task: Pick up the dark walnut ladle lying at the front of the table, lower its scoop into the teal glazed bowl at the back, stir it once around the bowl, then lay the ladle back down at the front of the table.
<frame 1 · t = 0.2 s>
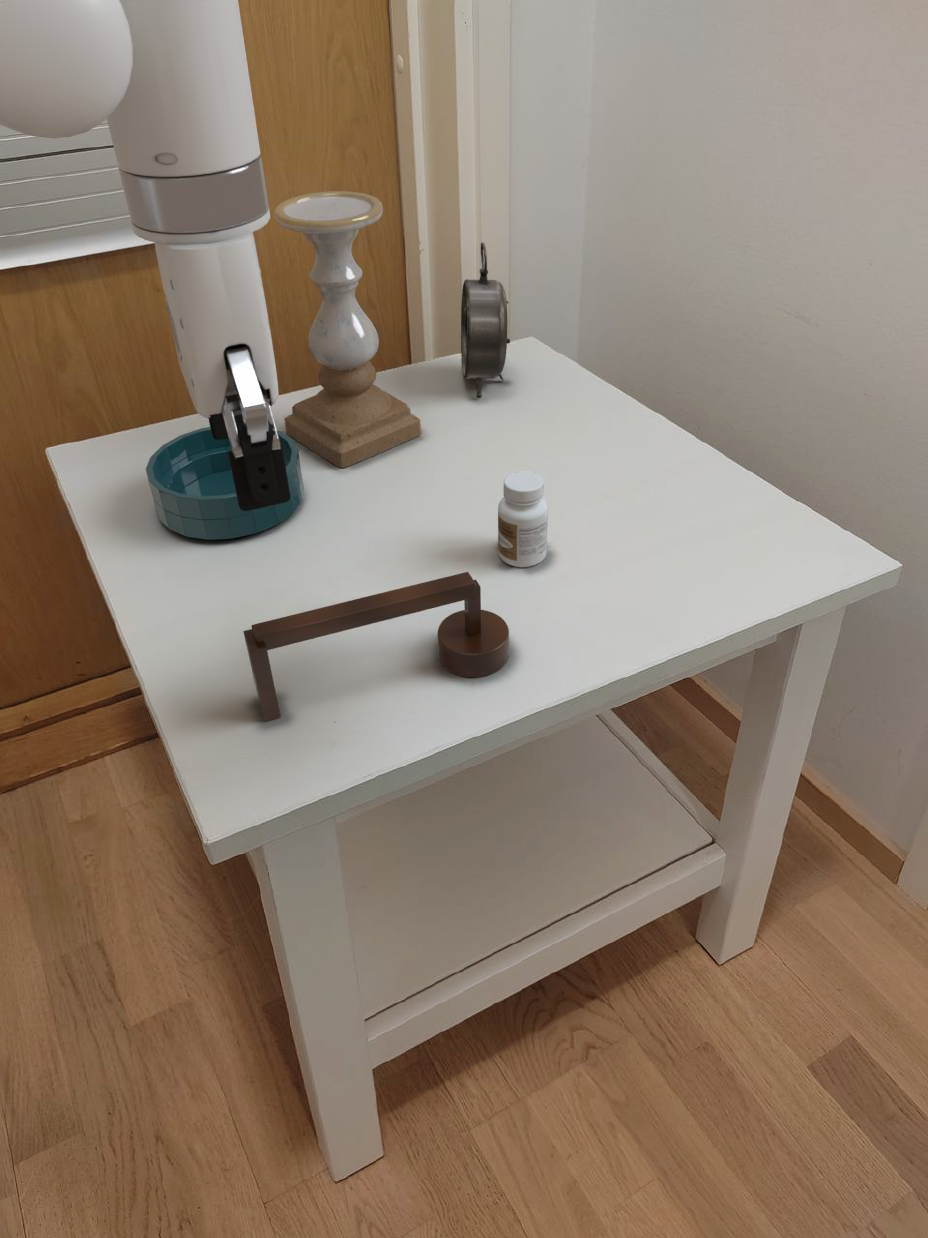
hand: (249, 467, 63), 19 cm above the table, tool pointing down, fingers open, 9 cm apart
pill bottle: (522, 556, 87), on the table
alarm clock: (485, 383, 114), on the table
candle holder: (353, 435, 105), on the table
ladle: (353, 686, 74), on the table
bowl: (232, 503, 94), on the table
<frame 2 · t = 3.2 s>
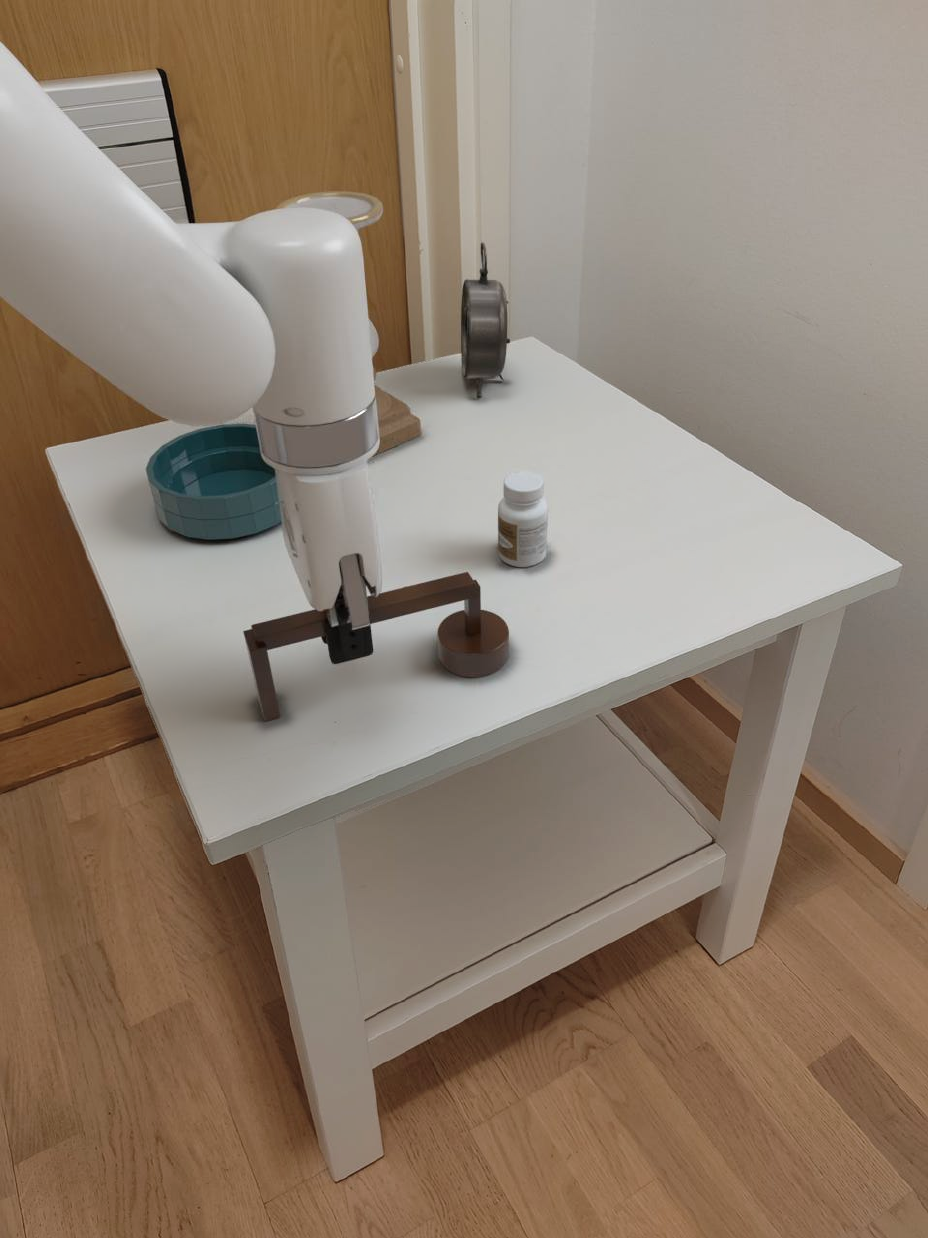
hand: (347, 646, 71), 4 cm above the table, tool pointing down, fingers closed on ladle
ladle: (352, 686, 74), on the table, touching gripper
everything else where it was.
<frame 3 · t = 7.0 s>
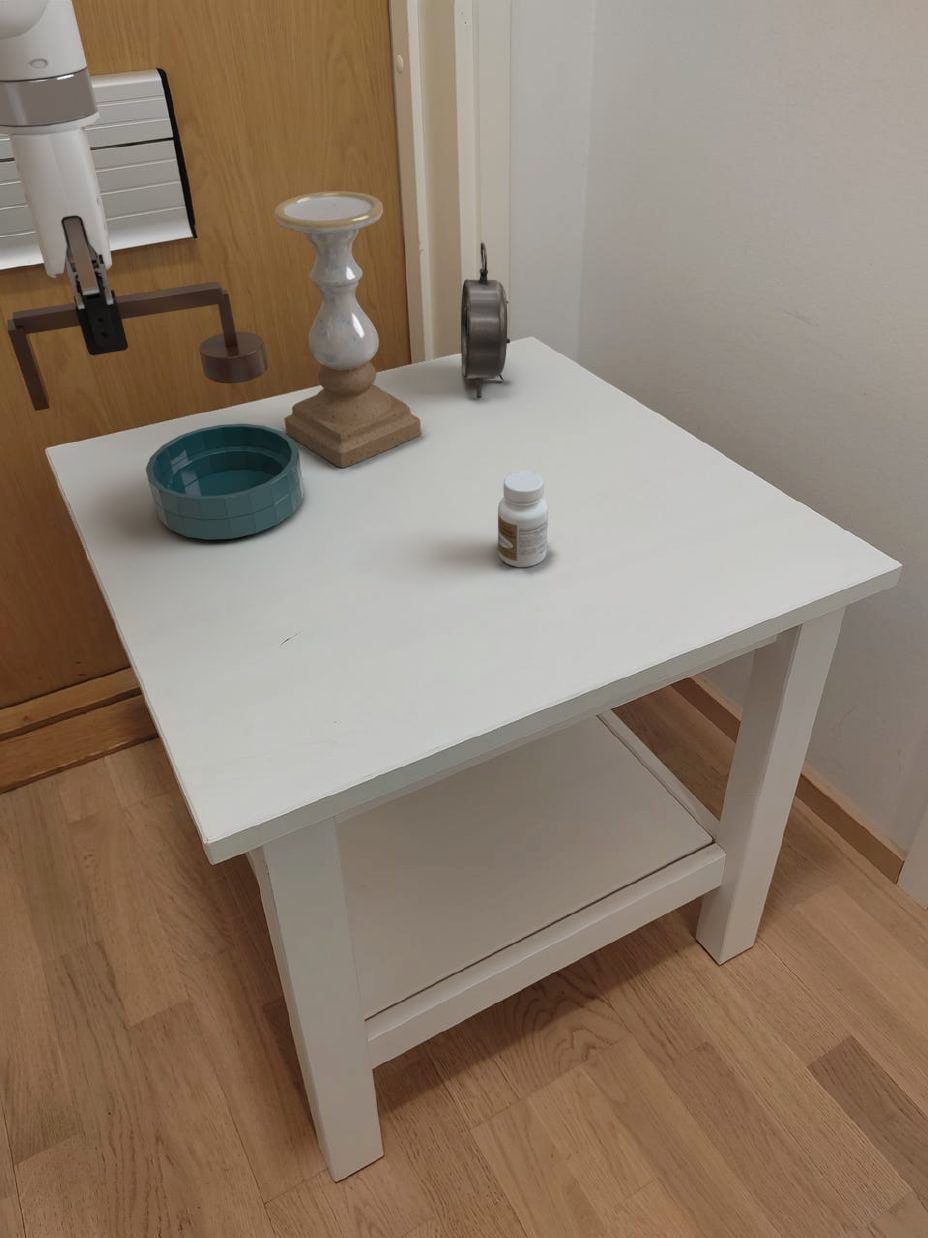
hand: (107, 344, 80), 18 cm above the table, tool pointing down, fingers closed on ladle
ladle: (120, 389, 82), point 14 cm above the table, touching gripper
everything else where it was.
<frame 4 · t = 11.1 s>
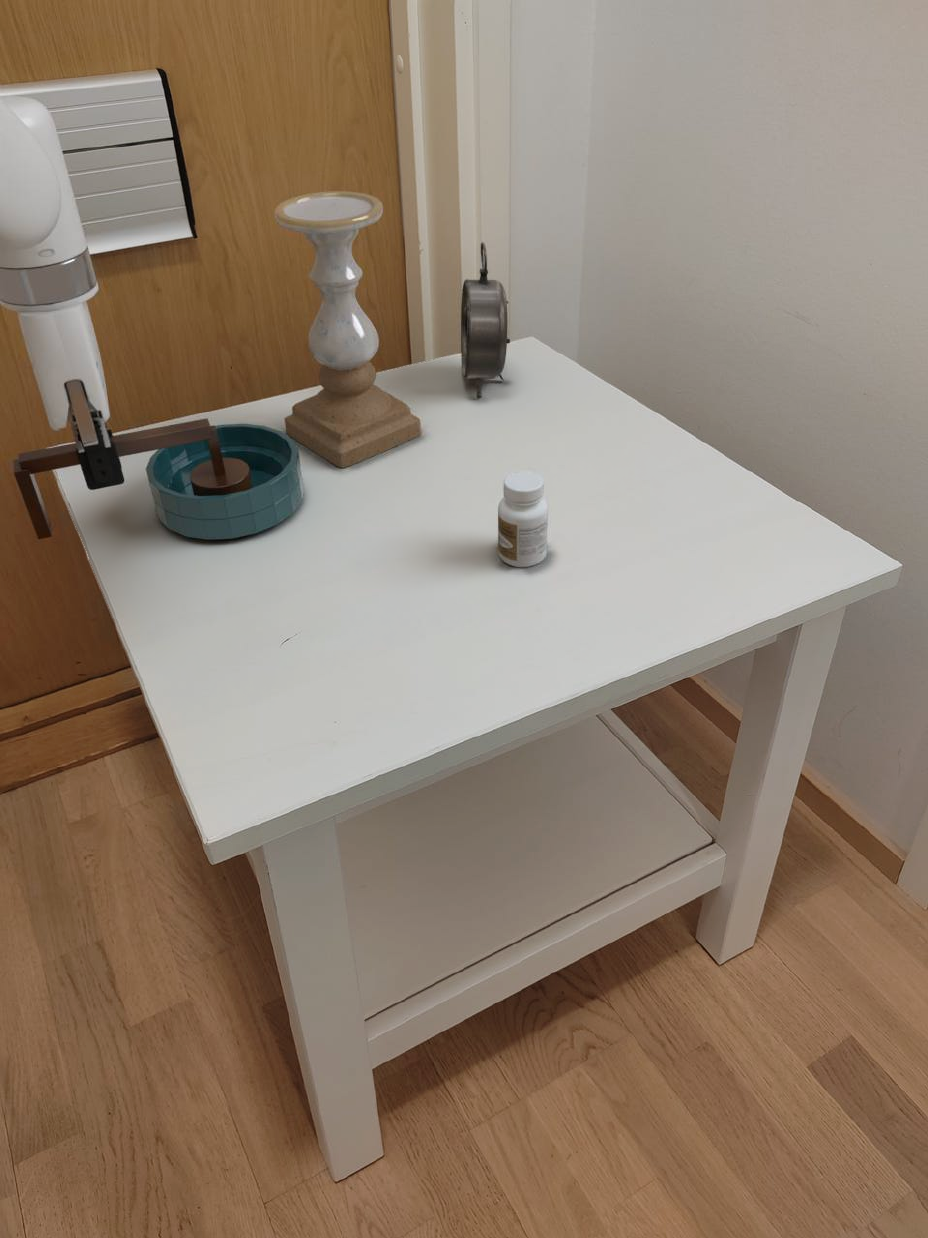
hand: (105, 477, 87), 6 cm above the table, tool pointing down, fingers closed on ladle
ladle: (117, 516, 89), point 2 cm above the table, touching gripper
everything else where it was.
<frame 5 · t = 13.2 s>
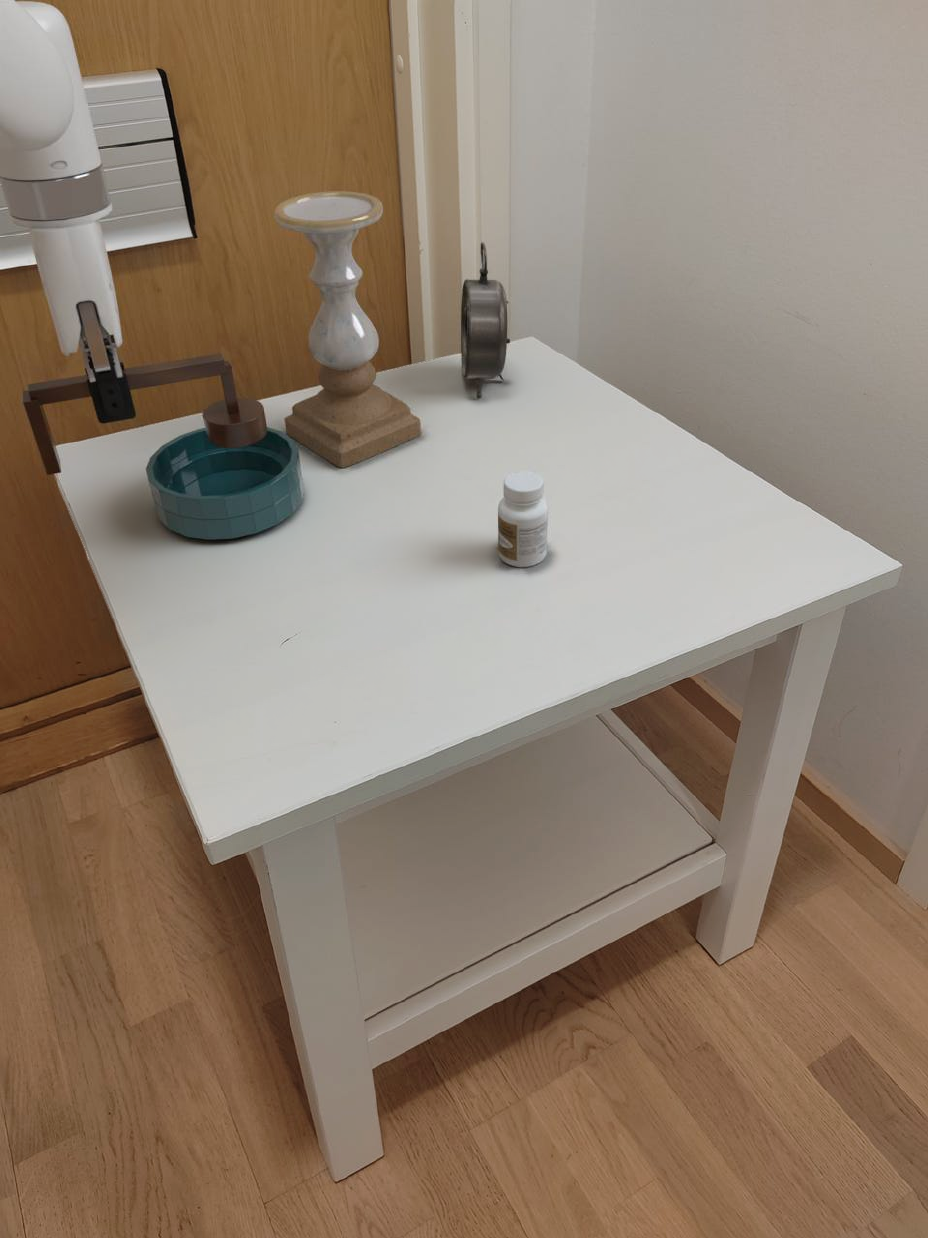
hand: (116, 412, 85), 12 cm above the table, tool pointing down, fingers closed on ladle
ladle: (128, 453, 87), point 8 cm above the table, touching gripper
everything else where it was.
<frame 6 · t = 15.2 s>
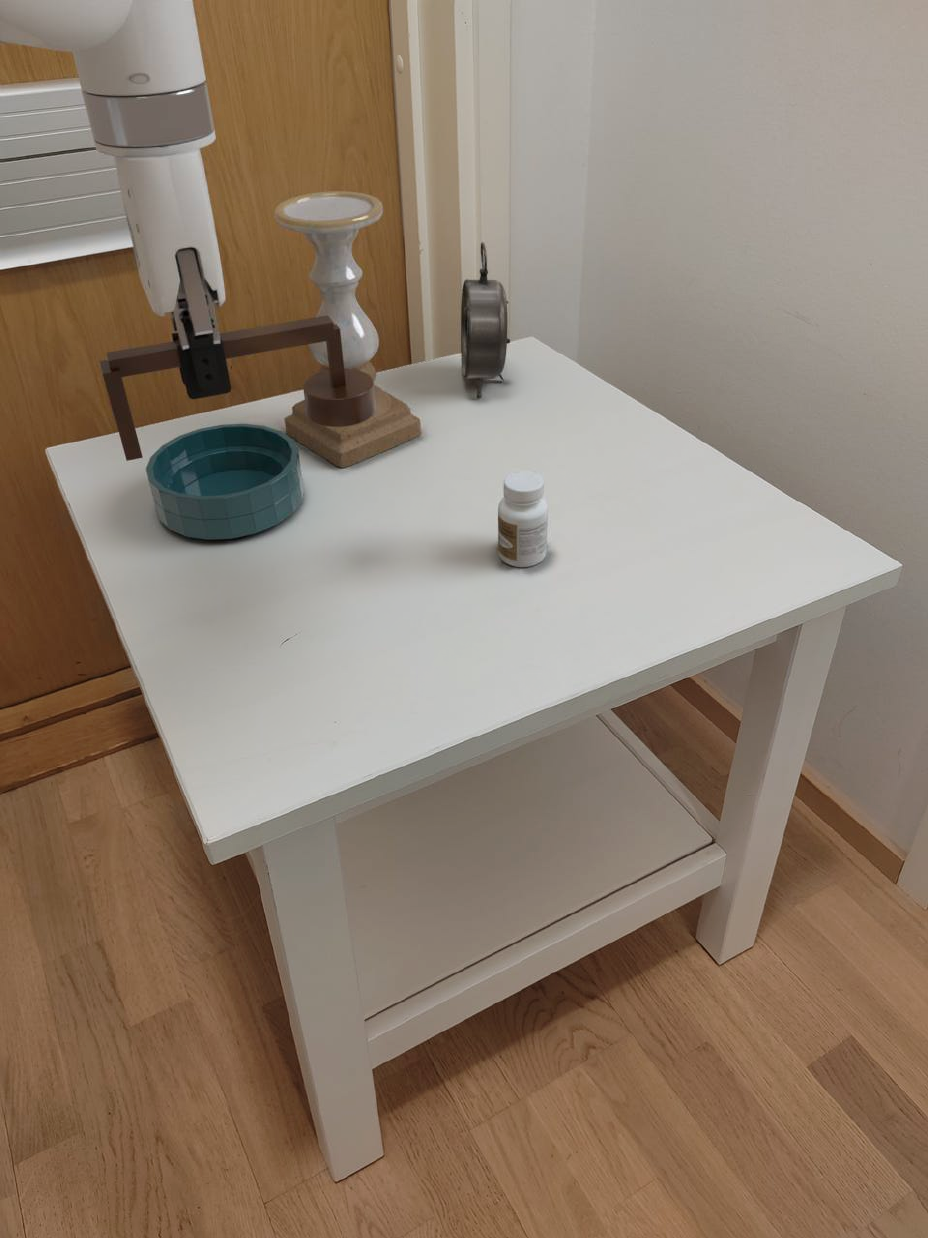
hand: (207, 386, 72), 19 cm above the table, tool pointing down, fingers closed on ladle
ladle: (218, 435, 74), point 15 cm above the table, touching gripper
everything else where it was.
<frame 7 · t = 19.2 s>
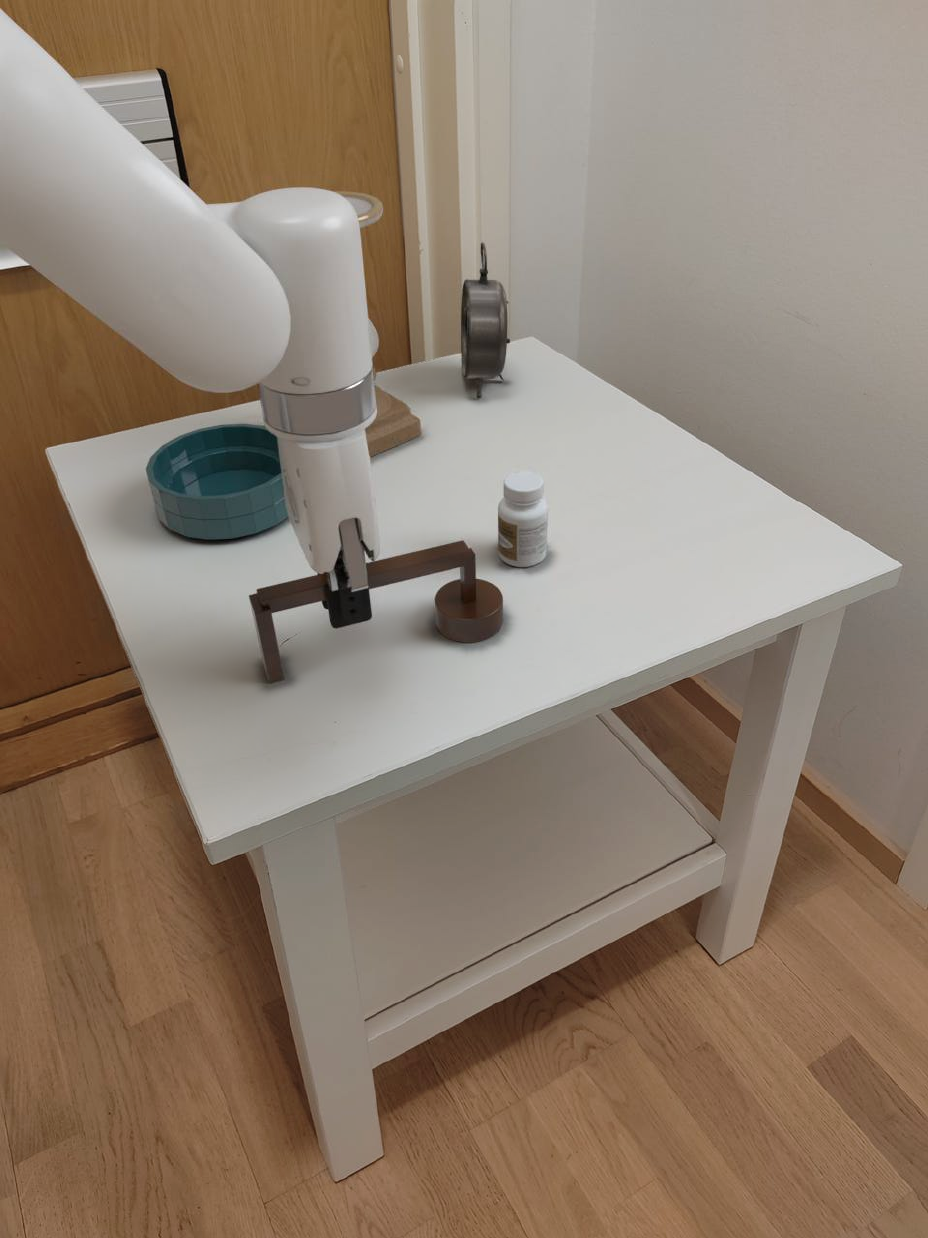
hand: (347, 611, 74), 4 cm above the table, tool pointing down, fingers closed
ladle: (353, 651, 77), on the table
everything else where it was.
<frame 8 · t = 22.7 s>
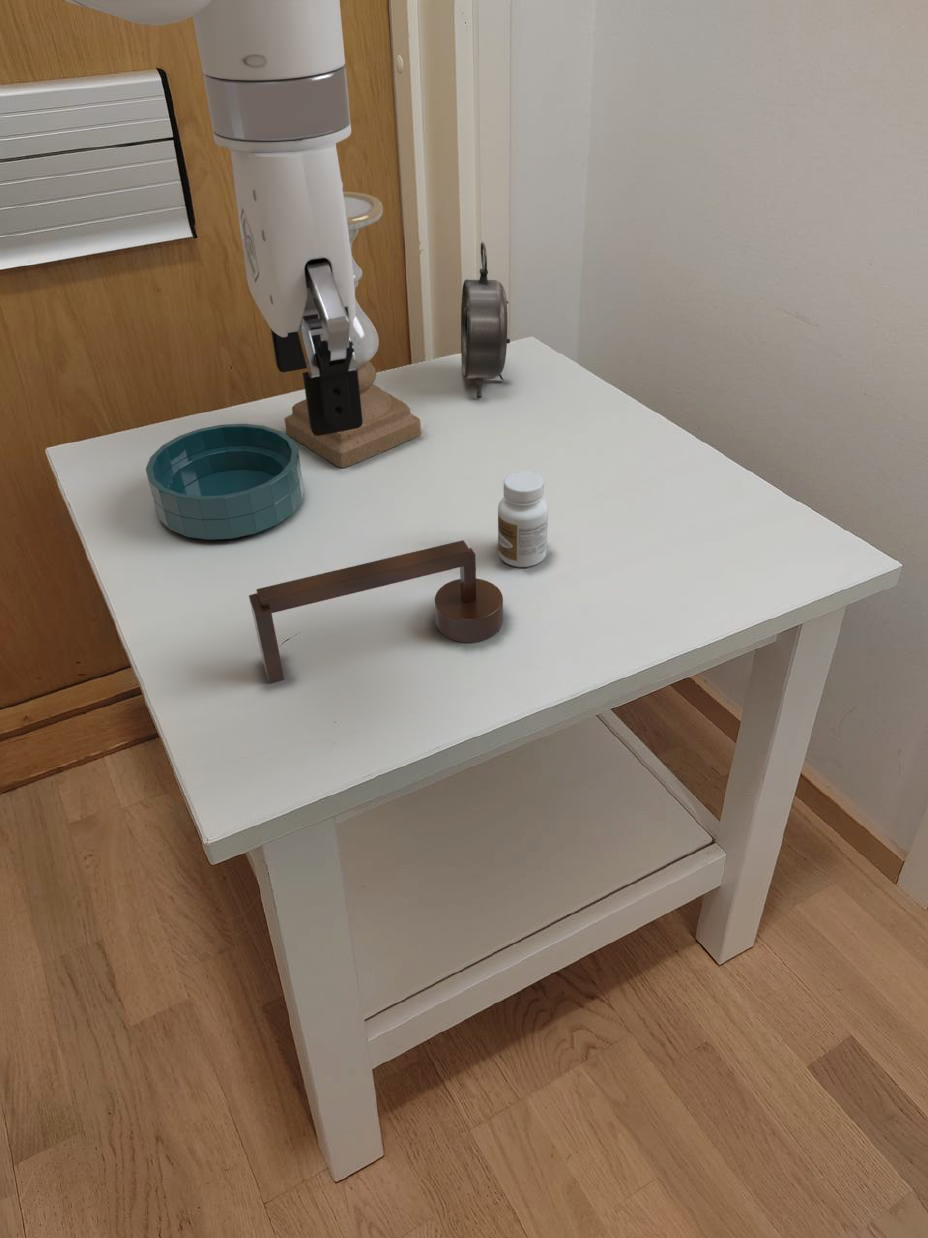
hand: (317, 396, 63), 22 cm above the table, tool pointing down, fingers open, 9 cm apart
nothing on the table moved.
at the end: the gripper is holding nothing; ladle inside the target area on the table beside the bowl (0.2 cm from its centre), on the table; ladle tilted 0° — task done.
